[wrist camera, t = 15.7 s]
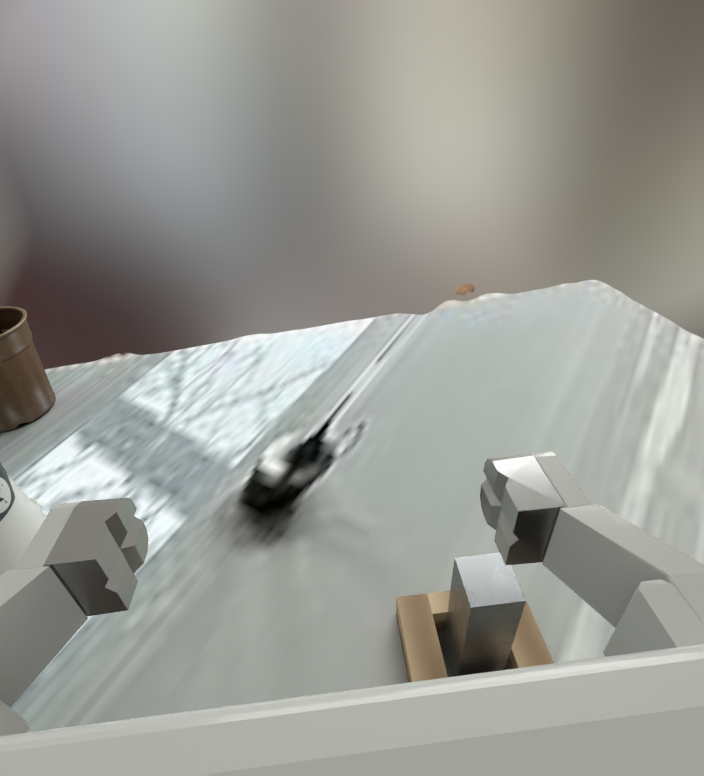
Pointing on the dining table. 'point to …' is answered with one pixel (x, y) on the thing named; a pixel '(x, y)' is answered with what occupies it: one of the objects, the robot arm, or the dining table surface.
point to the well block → (430, 614)
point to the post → (482, 614)
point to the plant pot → (20, 373)
